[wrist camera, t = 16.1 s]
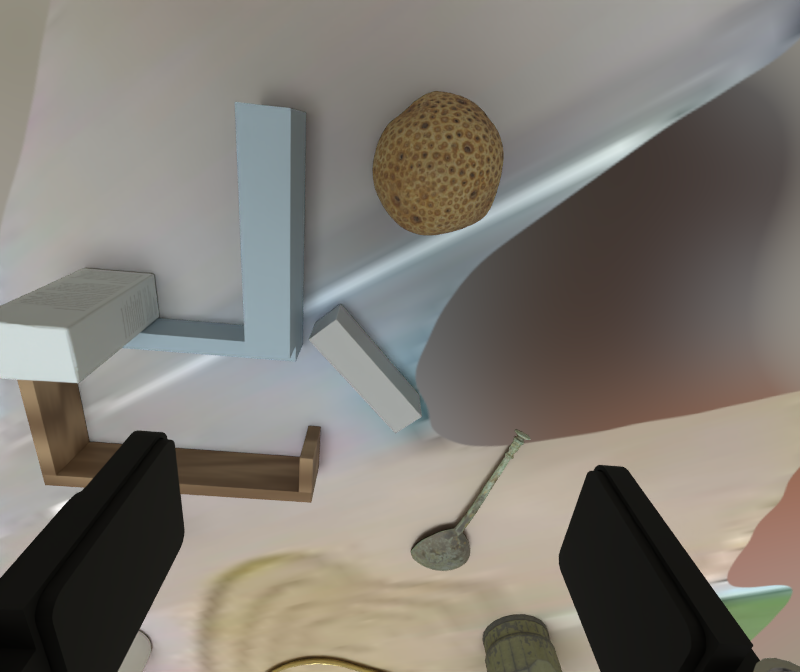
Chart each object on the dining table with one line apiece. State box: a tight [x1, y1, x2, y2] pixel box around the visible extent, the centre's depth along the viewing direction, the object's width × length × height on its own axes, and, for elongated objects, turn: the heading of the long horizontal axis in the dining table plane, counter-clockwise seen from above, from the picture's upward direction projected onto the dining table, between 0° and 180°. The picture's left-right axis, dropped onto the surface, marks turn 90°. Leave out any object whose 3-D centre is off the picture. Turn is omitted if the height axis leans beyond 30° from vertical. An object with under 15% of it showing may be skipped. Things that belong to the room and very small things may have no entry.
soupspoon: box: [411, 429, 530, 571], centre depth 50 cm, size 22×3×7 cm
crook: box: [122, 102, 306, 362], centre depth 35 cm, size 20×20×6 cm
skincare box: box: [0, 268, 159, 383], centre depth 34 cm, size 6×4×12 cm
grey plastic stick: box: [309, 304, 422, 433], centre depth 41 cm, size 12×3×4 cm, turn 37°
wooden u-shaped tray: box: [17, 380, 321, 502], centre depth 42 cm, size 13×24×5 cm, turn 84°
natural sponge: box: [373, 91, 503, 235], centre depth 31 cm, size 9×9×10 cm
